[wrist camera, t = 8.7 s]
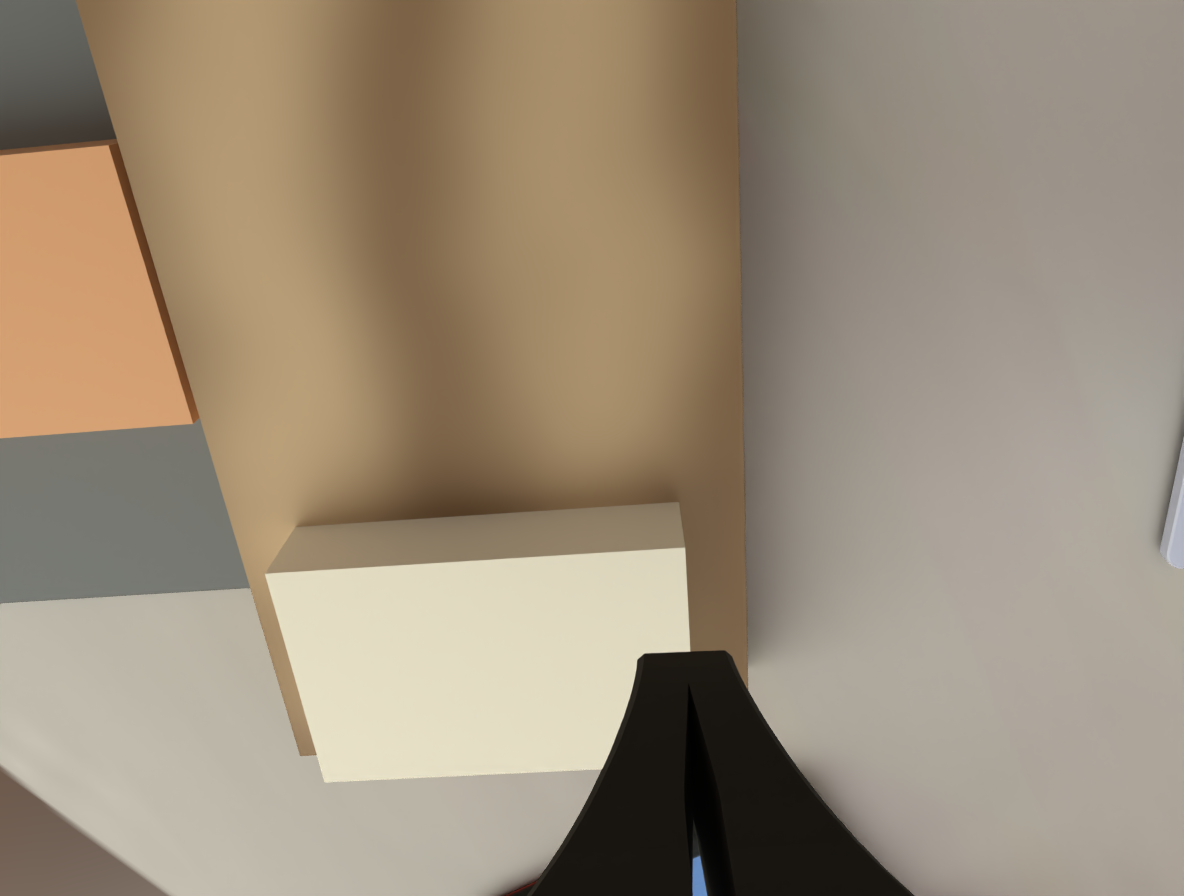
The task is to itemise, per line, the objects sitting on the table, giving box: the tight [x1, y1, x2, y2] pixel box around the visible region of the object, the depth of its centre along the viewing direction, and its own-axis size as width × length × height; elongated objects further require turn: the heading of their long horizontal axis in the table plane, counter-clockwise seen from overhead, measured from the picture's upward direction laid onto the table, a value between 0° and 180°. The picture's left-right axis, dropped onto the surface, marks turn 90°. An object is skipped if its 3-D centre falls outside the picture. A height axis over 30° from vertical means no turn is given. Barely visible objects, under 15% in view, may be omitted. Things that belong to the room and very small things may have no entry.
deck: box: [76, 0, 748, 756], centre depth 20 cm, size 12×22×2 cm, turn 5°
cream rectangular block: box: [265, 502, 690, 782], centre depth 21 cm, size 9×6×2 cm, turn 95°
